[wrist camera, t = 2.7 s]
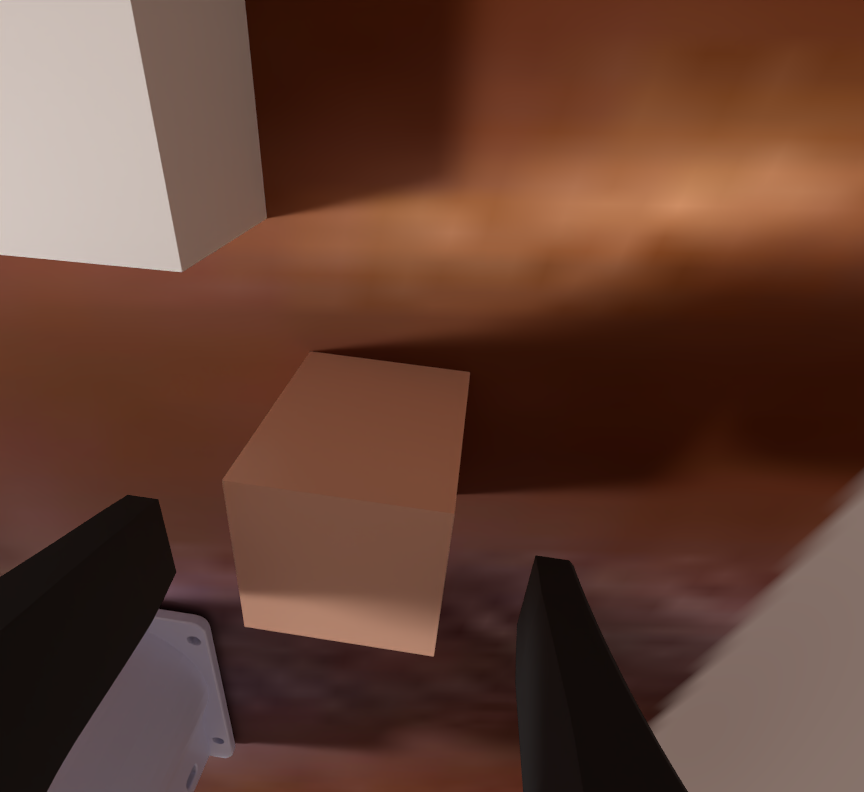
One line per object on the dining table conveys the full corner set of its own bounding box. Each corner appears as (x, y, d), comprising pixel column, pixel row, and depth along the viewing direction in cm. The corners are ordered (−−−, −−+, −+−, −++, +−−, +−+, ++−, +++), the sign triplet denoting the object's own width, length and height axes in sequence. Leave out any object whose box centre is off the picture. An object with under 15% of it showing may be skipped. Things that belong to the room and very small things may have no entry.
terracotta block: (453, 493, 15) (433, 656, 11) (315, 474, 16) (244, 626, 11) (470, 371, 13) (454, 514, 9) (310, 350, 13) (221, 480, 9)
